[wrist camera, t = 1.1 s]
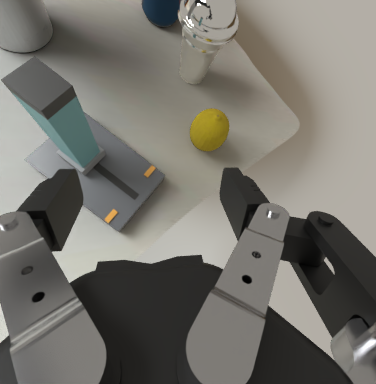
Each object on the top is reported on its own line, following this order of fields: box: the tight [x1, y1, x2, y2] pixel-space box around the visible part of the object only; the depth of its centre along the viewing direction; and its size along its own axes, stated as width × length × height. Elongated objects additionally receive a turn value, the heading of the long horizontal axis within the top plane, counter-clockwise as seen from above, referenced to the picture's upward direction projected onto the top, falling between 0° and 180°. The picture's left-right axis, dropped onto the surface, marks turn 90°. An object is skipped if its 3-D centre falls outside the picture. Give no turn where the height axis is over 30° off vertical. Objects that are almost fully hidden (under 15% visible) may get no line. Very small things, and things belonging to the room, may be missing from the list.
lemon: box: [190, 108, 229, 151], centre depth 32 cm, size 6×6×8 cm
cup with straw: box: [178, 0, 239, 84], centre depth 29 cm, size 8×9×20 cm
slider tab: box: [1, 56, 106, 176], centre depth 22 cm, size 4×4×14 cm
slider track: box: [24, 112, 165, 232], centre depth 30 cm, size 15×10×2 cm, turn 54°
